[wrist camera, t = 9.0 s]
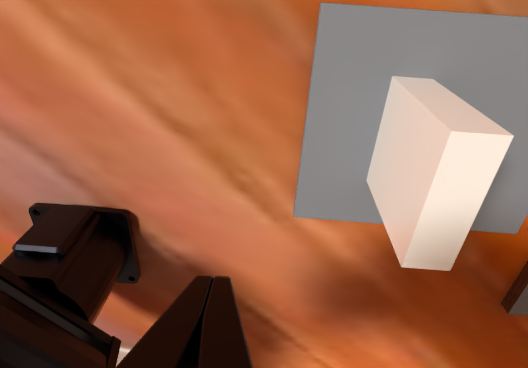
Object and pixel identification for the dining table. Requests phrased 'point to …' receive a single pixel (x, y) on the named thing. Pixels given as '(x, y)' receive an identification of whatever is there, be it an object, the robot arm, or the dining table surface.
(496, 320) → the dining table surface
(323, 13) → the mat
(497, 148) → the tile
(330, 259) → the dining table surface
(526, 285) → the turner
